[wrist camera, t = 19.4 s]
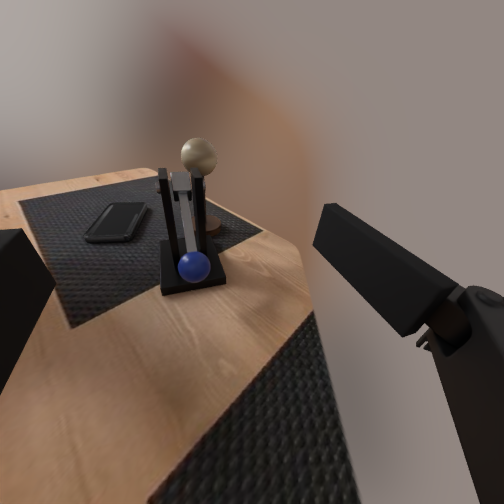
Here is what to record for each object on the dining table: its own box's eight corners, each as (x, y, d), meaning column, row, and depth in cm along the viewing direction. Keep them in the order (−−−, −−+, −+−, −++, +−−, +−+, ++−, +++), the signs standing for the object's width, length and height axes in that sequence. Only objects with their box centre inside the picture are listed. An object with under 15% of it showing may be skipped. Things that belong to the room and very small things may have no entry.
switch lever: (211, 282, 27) (214, 275, 23) (181, 288, 25) (179, 281, 22) (193, 185, 31) (193, 168, 27) (166, 187, 30) (163, 168, 26)
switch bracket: (226, 284, 33) (226, 187, 24) (162, 296, 30) (136, 192, 21) (211, 241, 42) (207, 160, 33) (160, 247, 39) (142, 160, 30)
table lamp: (188, 239, 42) (177, 141, 32) (185, 222, 47) (174, 133, 37) (224, 235, 44) (224, 142, 34) (217, 219, 49) (215, 135, 39)
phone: (81, 237, 37) (110, 202, 49) (83, 243, 38) (112, 206, 50) (130, 236, 39) (147, 202, 51) (132, 241, 40) (148, 206, 51)
